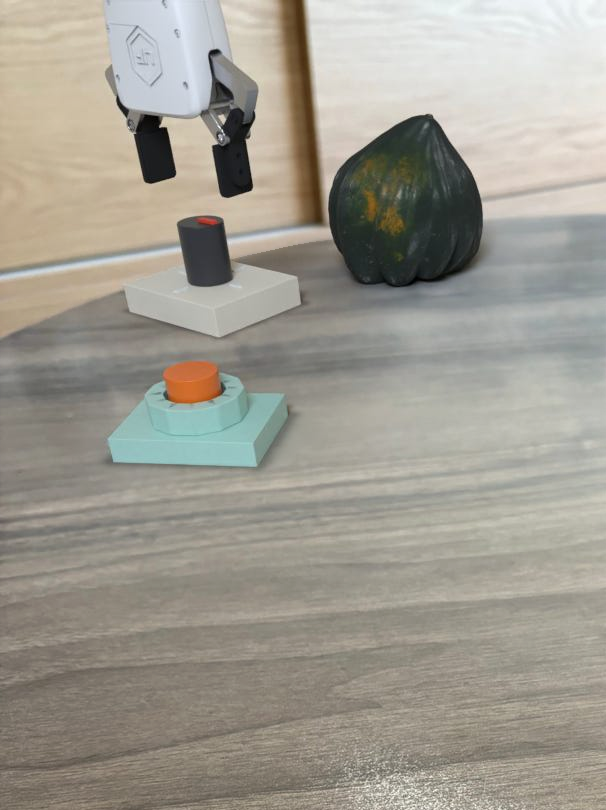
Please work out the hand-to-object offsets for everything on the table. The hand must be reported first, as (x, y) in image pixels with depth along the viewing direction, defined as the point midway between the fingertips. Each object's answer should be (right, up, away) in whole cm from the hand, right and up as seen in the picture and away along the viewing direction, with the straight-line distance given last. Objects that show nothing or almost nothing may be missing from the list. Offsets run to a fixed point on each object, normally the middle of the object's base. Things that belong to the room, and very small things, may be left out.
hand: (198, 187), depth 88 cm
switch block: (+5, -25, -16) cm, 30 cm away
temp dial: (0, -6, +5) cm, 8 cm away
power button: (+5, -22, -18) cm, 29 cm away
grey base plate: (0, -9, +6) cm, 11 cm away
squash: (+17, -3, +14) cm, 22 cm away
